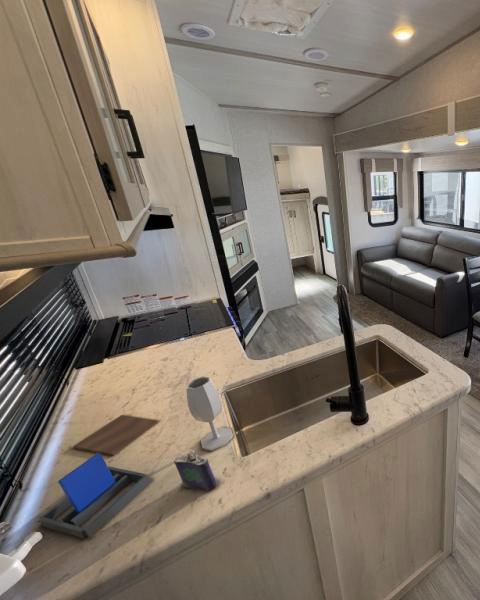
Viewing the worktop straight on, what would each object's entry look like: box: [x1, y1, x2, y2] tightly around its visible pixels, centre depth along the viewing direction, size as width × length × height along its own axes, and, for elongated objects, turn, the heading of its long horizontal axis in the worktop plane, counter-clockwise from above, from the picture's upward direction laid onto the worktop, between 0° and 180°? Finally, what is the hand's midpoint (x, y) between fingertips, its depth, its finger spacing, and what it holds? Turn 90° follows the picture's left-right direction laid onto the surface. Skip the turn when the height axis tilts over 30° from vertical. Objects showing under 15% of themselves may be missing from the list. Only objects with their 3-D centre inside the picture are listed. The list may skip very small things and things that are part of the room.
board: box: [73, 414, 158, 456], centre depth 99 cm, size 16×14×1 cm
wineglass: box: [185, 376, 234, 452], centre depth 91 cm, size 9×9×21 cm
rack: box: [39, 466, 151, 540], centre depth 76 cm, size 15×15×2 cm
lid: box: [57, 452, 116, 514], centre depth 75 cm, size 1×8×12 cm, turn 167°
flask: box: [173, 450, 218, 492], centre depth 78 cm, size 9×3×11 cm, turn 80°
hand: (23, 529), depth 64 cm, fingers open, 8 cm apart
